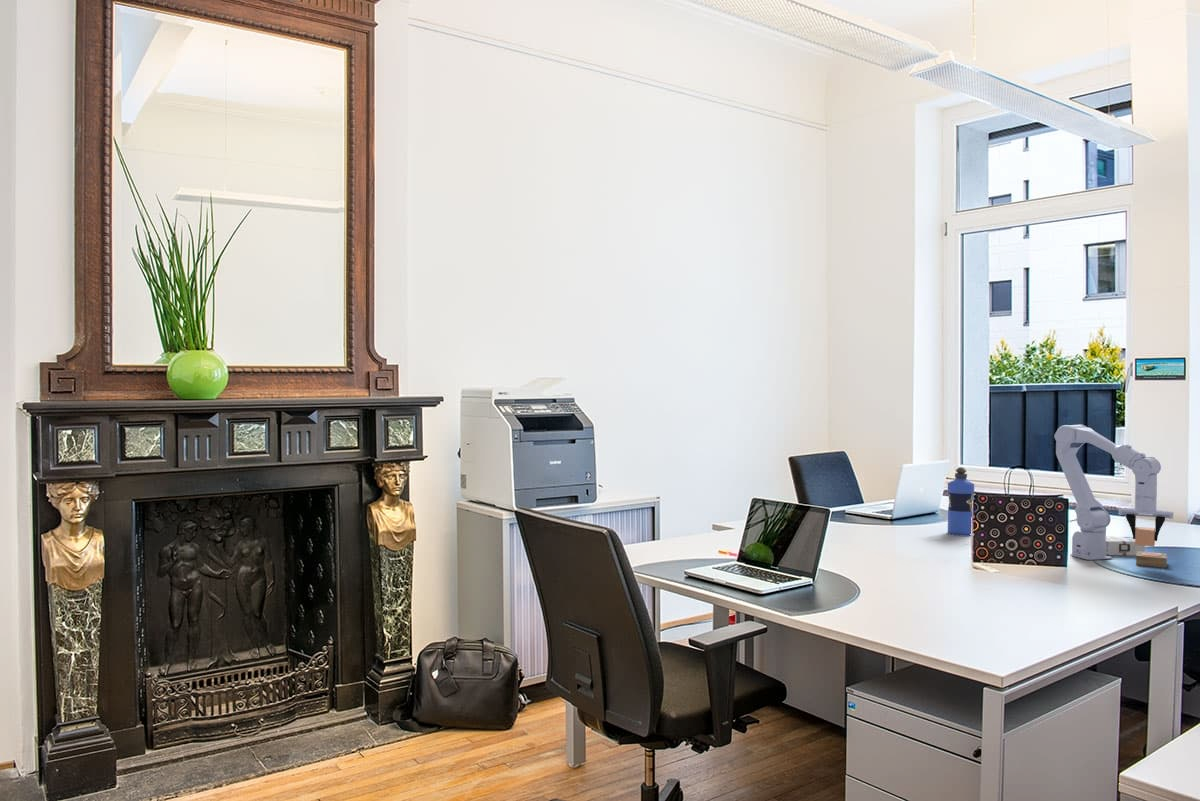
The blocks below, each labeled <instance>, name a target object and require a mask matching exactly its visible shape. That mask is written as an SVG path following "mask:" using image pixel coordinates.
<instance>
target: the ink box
mask: <svg viewBox="0 0 1200 801" xmlns="http://www.w3.org/2000/svg"><path fill="white" fill-rule="evenodd" d="M1145 547H1146V546H1140V545H1135V539H1133V536H1132V537H1131V536H1106V556H1136V555H1137V551H1140V552H1146V551H1145V550H1146V549H1145Z"/></svg>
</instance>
